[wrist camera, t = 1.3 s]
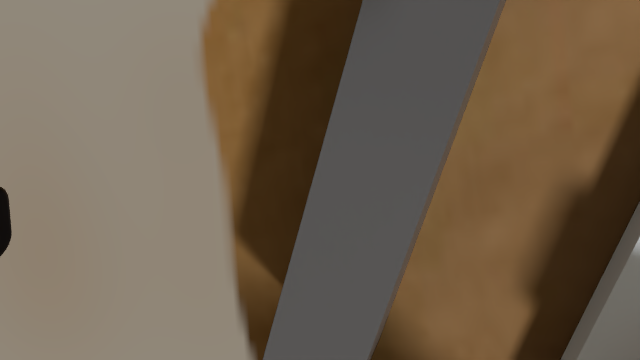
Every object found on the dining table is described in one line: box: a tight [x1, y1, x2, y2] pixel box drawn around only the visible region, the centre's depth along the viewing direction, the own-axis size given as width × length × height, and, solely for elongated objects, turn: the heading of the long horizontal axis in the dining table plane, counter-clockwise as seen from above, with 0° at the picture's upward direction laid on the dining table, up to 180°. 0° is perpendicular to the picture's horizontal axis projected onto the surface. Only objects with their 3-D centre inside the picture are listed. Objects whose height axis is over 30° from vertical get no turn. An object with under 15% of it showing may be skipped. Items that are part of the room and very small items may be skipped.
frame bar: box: [263, 0, 506, 360], centre depth 18 cm, size 14×3×4 cm, turn 165°
